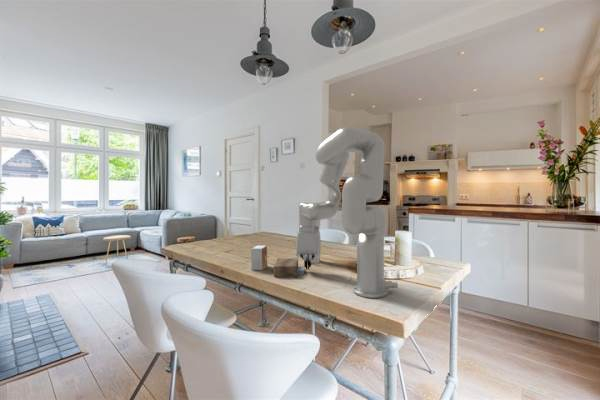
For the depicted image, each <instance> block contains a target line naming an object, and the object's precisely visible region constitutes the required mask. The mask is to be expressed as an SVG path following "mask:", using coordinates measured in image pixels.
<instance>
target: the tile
mask: <svg viewBox="0 0 600 400" xmlns="http://www.w3.org/2000/svg"><path fill="white" fill-rule="evenodd" d="M297 272H302V275H301V276H304V274H305V267H304V266H298V267H297Z"/></svg>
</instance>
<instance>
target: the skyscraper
mask: <svg viewBox="0 0 600 400" xmlns="http://www.w3.org/2000/svg"><path fill="white" fill-rule="evenodd" d="M315 226H316V227H319V228H320V226H321V220H315ZM315 232H317V235H318V248H319V249H318V252H319V256H317V257H314V258H313V259H312V260H311V265H312V264H318V265H320V263H321V261H320V260H321V246H322V245H321V242H322V241H321V232H320V229H319V230H316V231H315ZM306 258H307V265H308V258H309V254H306Z"/></svg>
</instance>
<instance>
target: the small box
mask: <svg viewBox="0 0 600 400" xmlns="http://www.w3.org/2000/svg"><path fill="white" fill-rule="evenodd" d="M267 246H268V245H258V244H257V245H255V246H254V247H252V248H250V249H251V250H250V254H251V255H250V259H251V260H250V261H251V262H250V263H251V264H250V265H251V271H263V270H265V269H266V268H268V247H267Z"/></svg>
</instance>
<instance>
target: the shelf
mask: <svg viewBox="0 0 600 400" xmlns="http://www.w3.org/2000/svg"><path fill="white" fill-rule="evenodd" d="M297 267H299V258H277V259H276V262H275V263H274V266H273V278H282V277H283V278H284V277H285V278H296V277H298V276H303V275H302V272H297Z"/></svg>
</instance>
